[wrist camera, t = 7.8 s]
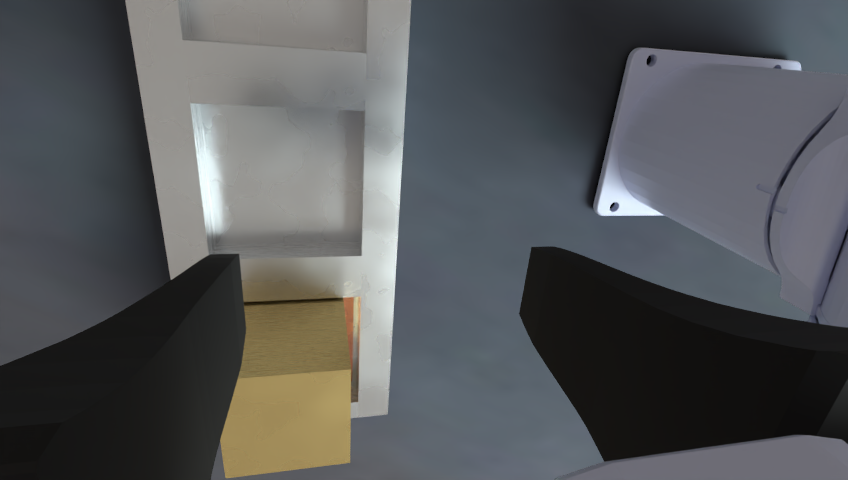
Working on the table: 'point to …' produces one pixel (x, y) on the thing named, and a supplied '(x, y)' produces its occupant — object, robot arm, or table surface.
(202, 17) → the rail
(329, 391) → the brass block
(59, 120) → the table surface
